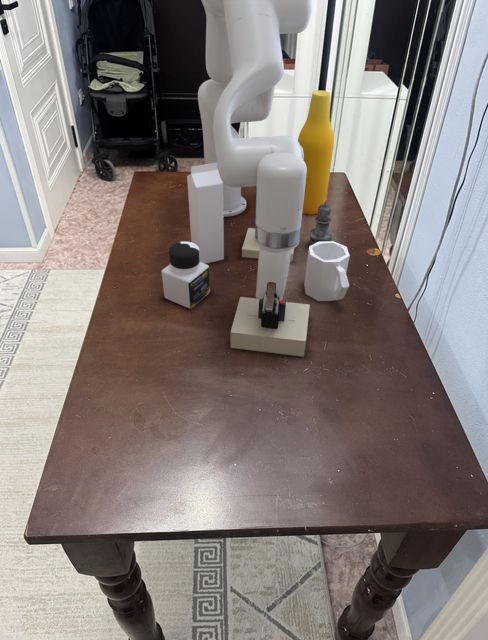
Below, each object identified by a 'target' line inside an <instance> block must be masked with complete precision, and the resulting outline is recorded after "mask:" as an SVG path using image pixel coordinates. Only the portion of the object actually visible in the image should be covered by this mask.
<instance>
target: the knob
mask: <svg viewBox="0 0 488 640" xmlns="http://www.w3.org/2000/svg"><path fill="white" fill-rule="evenodd" d="M263 301H264V297H263V298H262V299H259V311H258V318H259V319H261V315H262V309H263ZM286 302H287V300H286V299H284V298H283V299H282V300H281V301H279V307H278V311H280V312H279V321H284V319H285V310H286ZM275 305H276V301H274V303H273V306H275Z"/></svg>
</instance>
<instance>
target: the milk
mask: <svg viewBox="0 0 488 640" xmlns="http://www.w3.org/2000/svg"><path fill="white" fill-rule="evenodd" d="M186 179H187V195H188V211H189V212H188V214H189V226H190V242H192V243H194V244H196V245H197V246H198V247H199V255H200V262H201V263H204V264H210V263H215V262H219V261H224V260H225V243H224V241H225V237H224V236H225V233H224V229H225V228H224V217H223V182H222V180H221V178H220V175H219V171H218V167H217V163H211V164H205V165H204V164H199V165H192V166H191V167H190V174H188V175H187V176H186Z"/></svg>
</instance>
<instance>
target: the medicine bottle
mask: <svg viewBox="0 0 488 640" xmlns="http://www.w3.org/2000/svg"><path fill="white" fill-rule="evenodd" d="M168 257H169V264H168V265H166V266H165V267H164V268H163V269H161V279H162V280H161V281H162V288H163V296H164V299H166V300H168V301H170V302H173V303H176V304H177V305H180V306H183V307H185V308H187V309H188V310H189V309H190V310H191V309H193V308H194V307H195V306H196V305H198V304H199V303H200V302H201V301H202V300H203V299H204V298H205V297H207V296H208V295H209V294H210V293H211V285H210V265H208V263H206V264H204V263H201V262H200V255H199V247H198V246H197V245H196V244H194V243H192V242H191V241H186V240H185V241H178V242H174V243H173V244H171V246H170V247H169V248H168Z"/></svg>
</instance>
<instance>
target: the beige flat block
mask: <svg viewBox="0 0 488 640" xmlns="http://www.w3.org/2000/svg"><path fill="white" fill-rule="evenodd" d="M310 306H311V305H310V304H309V303H308V304H307V303H299V302H292V301H286V310H285V319H284V321H279V324H278V329H270V328H262V327H261V319H259V318H258V311H259V299H257V298H256V297H245V296H240V297H239V300H238V304H237V308H236V311H235V315H234V318H233V321H232V326H231V329H230V349H238V350H246V351H253V352H261V353H271V354H279V355H287V356H294V357H301V358H302V357H305V353H306V352H305V351H306V344H307V335H308V327H309V325H308V324H309V317H310Z"/></svg>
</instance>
